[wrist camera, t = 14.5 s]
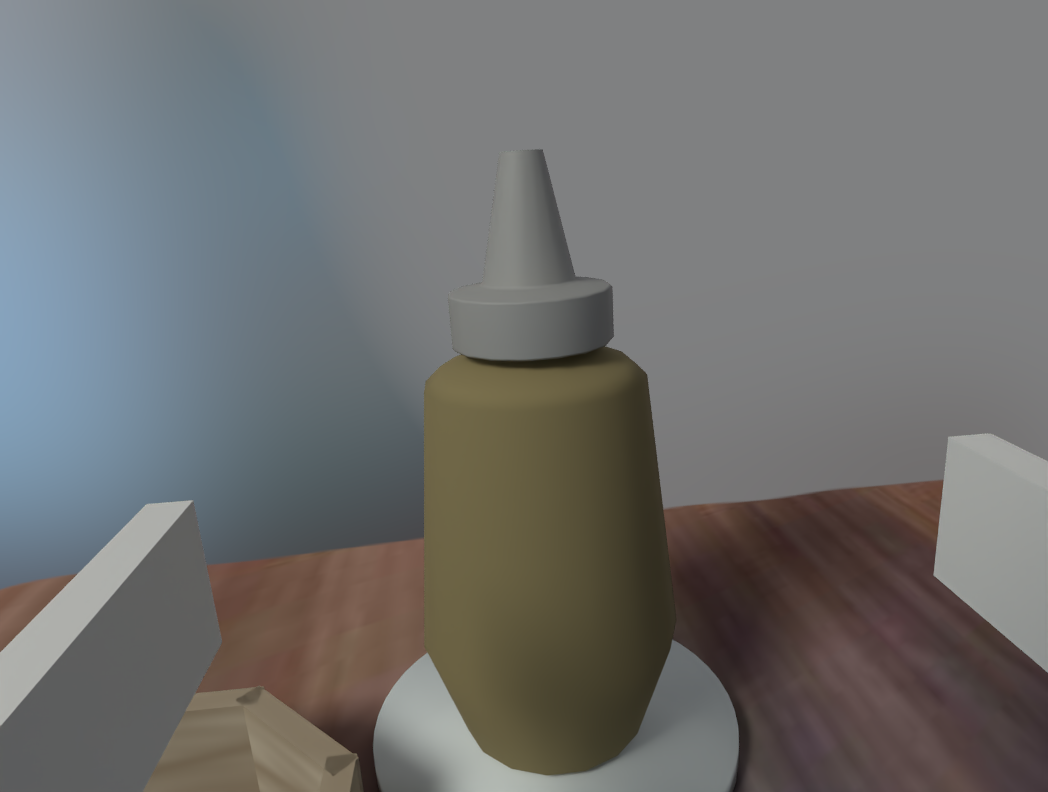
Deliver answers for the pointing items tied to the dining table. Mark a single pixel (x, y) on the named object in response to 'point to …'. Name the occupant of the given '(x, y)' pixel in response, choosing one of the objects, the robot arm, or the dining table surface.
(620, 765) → the ceramic coaster
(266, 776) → the birch collar
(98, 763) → the robot arm
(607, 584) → the squeeze bottle
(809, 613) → the dining table surface
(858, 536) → the dining table surface
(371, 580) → the dining table surface
